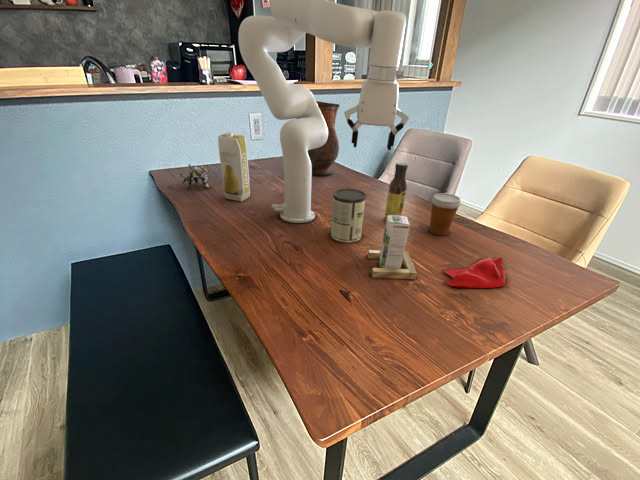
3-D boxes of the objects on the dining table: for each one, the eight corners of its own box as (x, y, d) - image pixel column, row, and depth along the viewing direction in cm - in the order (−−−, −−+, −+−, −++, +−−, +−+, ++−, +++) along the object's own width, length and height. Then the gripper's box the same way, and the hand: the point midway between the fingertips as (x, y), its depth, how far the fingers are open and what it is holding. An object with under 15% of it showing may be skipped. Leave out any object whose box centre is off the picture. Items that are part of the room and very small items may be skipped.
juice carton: (222, 198, 144) (213, 132, 130) (233, 193, 150) (226, 128, 136) (242, 202, 142) (236, 135, 127) (252, 196, 148) (248, 131, 133)
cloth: (468, 299, 94) (471, 291, 92) (431, 274, 103) (433, 267, 102) (532, 276, 105) (535, 270, 103) (493, 256, 114) (495, 249, 113)
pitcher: (343, 176, 176) (348, 104, 157) (303, 180, 168) (304, 105, 150) (327, 167, 187) (331, 99, 169) (289, 170, 179) (288, 100, 161)
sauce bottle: (400, 225, 131) (411, 167, 119) (383, 223, 131) (392, 165, 119) (401, 218, 136) (411, 162, 124) (384, 216, 137) (393, 160, 125)
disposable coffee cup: (437, 239, 122) (446, 204, 115) (419, 228, 129) (426, 194, 122) (458, 234, 126) (468, 200, 119) (439, 224, 133) (447, 191, 125)
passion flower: (208, 200, 157) (214, 181, 147) (182, 198, 152) (186, 179, 142) (203, 178, 160) (208, 159, 150) (177, 176, 155) (181, 156, 145)
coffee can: (335, 227, 126) (338, 186, 118) (364, 232, 124) (369, 191, 115) (326, 239, 119) (328, 196, 110) (356, 245, 116) (361, 201, 108)
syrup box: (378, 261, 108) (386, 214, 99) (398, 262, 108) (407, 215, 99) (380, 271, 103) (388, 222, 95) (401, 272, 103) (411, 223, 95)
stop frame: (372, 277, 100) (373, 271, 99) (367, 255, 111) (368, 249, 110) (415, 279, 101) (416, 273, 99) (406, 257, 111) (407, 251, 110)
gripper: (413, 76, 95) (400, 146, 106) (347, 70, 95) (341, 142, 105) (418, 79, 89) (404, 153, 100) (348, 73, 89) (341, 148, 99)
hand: (371, 147), depth 103 cm, fingers open, 9 cm apart
